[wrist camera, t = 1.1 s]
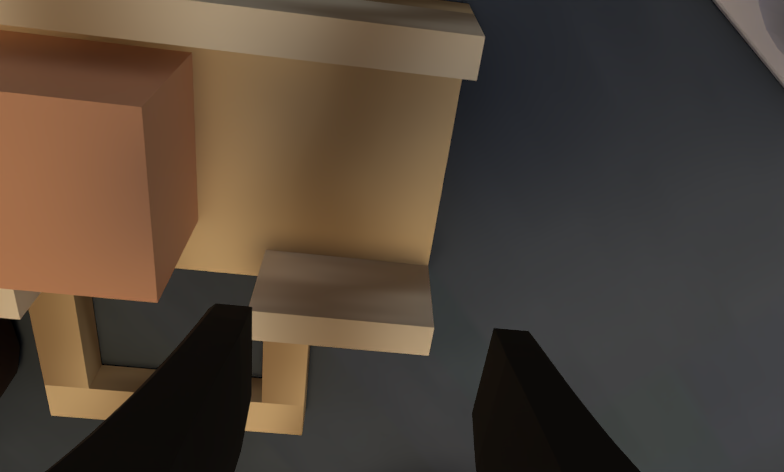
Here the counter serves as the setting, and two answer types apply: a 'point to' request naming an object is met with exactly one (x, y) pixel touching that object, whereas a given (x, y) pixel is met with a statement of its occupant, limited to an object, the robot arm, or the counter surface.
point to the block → (94, 166)
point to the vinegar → (8, 353)
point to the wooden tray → (285, 177)
